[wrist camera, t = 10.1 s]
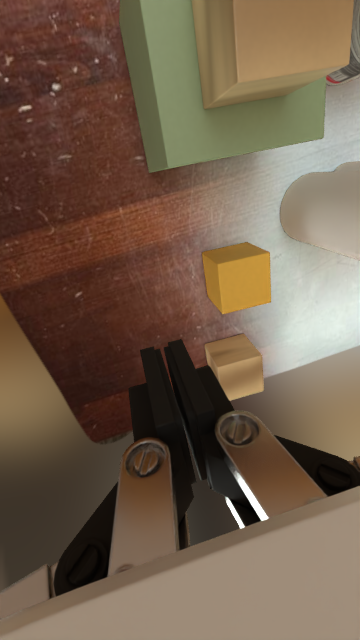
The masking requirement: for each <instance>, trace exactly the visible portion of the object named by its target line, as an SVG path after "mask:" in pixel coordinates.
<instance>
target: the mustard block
mask: <svg viewBox="0 0 360 640" xmlns="http://www.w3.org/2000/svg"><path fill="white" fill-rule="evenodd" d="M202 258H203V265H204V273H205V280H206V288H207V295H208V297H209V298H210V299H211V301H212V302H213V303H214V304H215V306H216V307H217V308H218V309H219V310H220V312H221V313H222V314H226V313H230V312H234V311H238V310H242V309H246V308H250V307H254V306H258V305H262V304H266V303H270V302H271V284H270V252H268V251H266V250H263V249H261V248H259V247H257V246H254V245H252V244H250V243H248V242H245V243H241V244H236V245H232V246H227V247H223V248H218V249H214V250H209V251H205V252H202Z"/></svg>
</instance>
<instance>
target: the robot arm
mask: <svg viewBox="0 0 360 640" xmlns="http://www.w3.org/2000/svg"><path fill="white" fill-rule="evenodd" d="M164 351H165V356H166V360H167V364H168V369H169V373H170V377H171V382H172V386H173V389H172V386H171V383H170V380H169V377H168V373H167V370H166V367H165V364H164V361H163V358H162V355H161V351H160V349H156V350H154V347H150V348H146V349H142V350H140V352H141V357H142V362H143V367H144V372H145V377H146V382H147V383H144V384H141V385H137V386H134V387H130V388H129V399H130V408H131V417H132V426H133V434H134V443H133V444H131V445H130V446H129V447H128V448H127V449H126V451H125V452H124V454H123V456H122V459H121V462H120V470H119V479H118V482H117V483H116V485H115V486H114V487H113V489H112V490H111V491H110V493H109V494H108V495H107V496H106V498H105V499H104V500H103V502H102V503H101V504H100V506H99V507H98V508H97V509H96V511H95V512H94V514H93V515H92V516H91V517H90V519H89V520H88V521H87V522H86V524H85V525H84V526H83V528H82V529H81V530H80V532H79V533H78V534H77V536H76V537H75V538H74V540H73V541H72V542H71V543H70V545H69V546H68V547H67V549H66V550H65V551H64V553H63V555H62V556H61V558H60V560H59V561H58V562H57V563H55V564H53V565H52V566H50V567H49V566H48V564H46V565H44V566H42V567H41V568H39V569H37V570H36V571H34V572H32V573H31V574H29V575H27V576H26V577H24V578H23V579H21V580H19V581H18V582H16V583H14V584H13V585H11V586H9V587H8V588H6V589H4V590H3V591H1V592H0V640H360V456H358V457H354V460H353V461H347V460H344V459H342V458H340V457H338V456H335V455H332V454H329V453H326V452H323V451H320V450H317V449H314V448H311V447H308V446H306V445H303V444H299V443H297V442H294V441H291V440H288V439H285V438H281V437H279V436H275V435H273V434H272V433H271V432H270V431H269V430H268V428H267V427H266V426H265V425H264V424H263V423H262V422H261V421H260V419H259V418H257V417H256V416H255V415H253V414H251V413H249V412H246V411H235V410H234V409H233V406H232V405H231V403H230V401H229V399H228V397H227V396H226V394H225V392H224V390H223V388H222V387H221V385H220V383H219V381H218V379H217V378H216V376H215V374H214V372H213V370H212V369H211V367H210V366H209V365H208V366H204V367H201V368H197V369H195V367H194V365H193V363H192V361H191V358H190V356H189V354H188V352H187V350H186V348H185V346H184V344H183V341H182V340H181V339H180V340H176V341H172V342H169V343H168V347H164ZM173 390H174V392H173ZM183 425H184V426H183ZM184 428H185V430H184ZM185 431H186V434H185ZM186 435H187V438H188V441H189V444H190V447H191V450H192V454H193V457H194V460H195V463H196V466H197V469H198V473H199V476H200V479H201V481H202V480H205V479H207V481H208V483H209V487H210V489H212V488H213V491H216V492H217V493H219V494H222V495H224V496H225V499H226V501H227V504H228V506H229V507H230V509H231V511H232V513H233V515H234V516H235V518H236V520H237V522H238V524H239V526H240V528H241V529H238V530H235V531H233V532H230V533H227V534H224V535H221V536H218V537H216V538H213V539H210V540H208V541H205V542H202V543H199V544H196V545H194V546H191V547H190V538H189V527H188V517H187V513H186V511H187V509H188V507H189V505H190V503H191V502H192V500H193V498H194V496H193V491H192V487H191V484H193V483H196V479H195V474H194V470H193V465H192V461H191V456H190V452H189V448H188V443H187V439H186Z"/></svg>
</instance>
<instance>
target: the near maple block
mask: <svg viewBox="0 0 360 640" xmlns="http://www.w3.org/2000/svg"><path fill="white" fill-rule="evenodd" d="M353 6H354V0H192V9H193V18H194V27H195V36H196V45H197V54H198V63H199V72H200V81H201V90H202V99H203V108H204V109H210V108H216V107H221V106H227V105H233V104H239V103H244V102H250V101H256V100H261V99H267V98H273V97H279V96H284V95H288V94H290V93H292V92H294V91H296V90H298V89H300V88H302V87H304V86H306V85H308V84H310V83H312V82H314V81H316V80H318V79H320V78H322V77H324V76H326V75H328V74H330V73H332V72H334V71H337V70H339V69H341V68H343V67H345V66H347V65H348V64H349V59H350V46H351V33H352V19H353Z"/></svg>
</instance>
